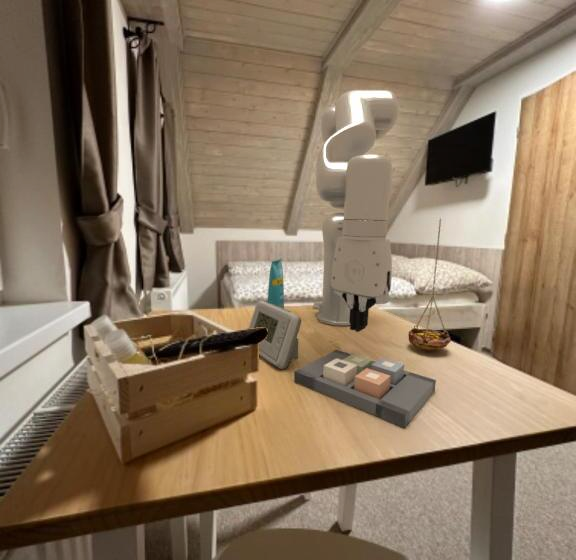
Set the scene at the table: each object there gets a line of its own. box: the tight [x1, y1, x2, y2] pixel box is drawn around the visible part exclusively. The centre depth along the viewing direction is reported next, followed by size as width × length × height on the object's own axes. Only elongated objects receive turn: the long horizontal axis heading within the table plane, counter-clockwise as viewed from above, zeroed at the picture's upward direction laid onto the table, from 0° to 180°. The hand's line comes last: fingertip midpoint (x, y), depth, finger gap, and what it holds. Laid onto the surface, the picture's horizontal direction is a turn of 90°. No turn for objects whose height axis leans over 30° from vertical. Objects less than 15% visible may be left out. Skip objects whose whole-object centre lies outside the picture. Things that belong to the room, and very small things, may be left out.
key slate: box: [371, 357, 405, 385], centre depth 56 cm, size 4×4×3 cm
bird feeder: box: [407, 217, 451, 351], centre depth 72 cm, size 9×9×30 cm
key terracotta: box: [354, 368, 391, 399], centre depth 52 cm, size 4×4×3 cm
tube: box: [266, 258, 285, 309], centre depth 83 cm, size 7×5×19 cm, turn 169°
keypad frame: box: [293, 349, 437, 429], centre depth 56 cm, size 20×14×2 cm
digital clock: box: [247, 300, 302, 370], centre depth 68 cm, size 16×9×11 cm, turn 22°
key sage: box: [343, 353, 373, 373], centre depth 60 cm, size 4×4×3 cm
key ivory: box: [323, 358, 357, 386], centre depth 56 cm, size 4×4×3 cm
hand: (357, 328), depth 60 cm, fingers closed
